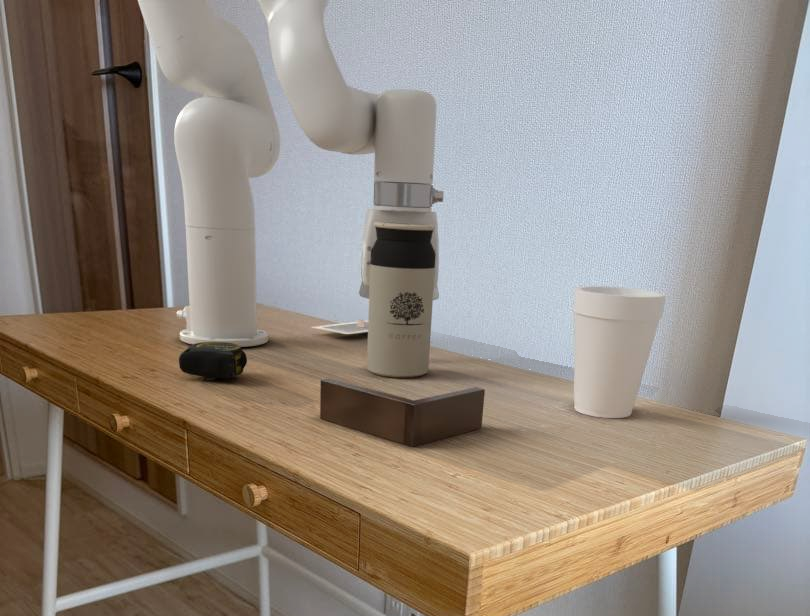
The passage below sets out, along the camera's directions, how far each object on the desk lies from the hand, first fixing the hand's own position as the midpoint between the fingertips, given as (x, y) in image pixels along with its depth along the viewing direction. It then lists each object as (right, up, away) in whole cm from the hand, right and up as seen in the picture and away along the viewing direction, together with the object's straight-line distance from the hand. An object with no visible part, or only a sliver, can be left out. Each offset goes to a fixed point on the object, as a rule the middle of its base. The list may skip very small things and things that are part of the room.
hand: (397, 342), depth 114 cm
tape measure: (-21, -8, -15) cm, 27 cm away
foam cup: (+23, -13, -20) cm, 33 cm away
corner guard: (+1, -15, -30) cm, 34 cm away
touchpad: (-6, +6, +20) cm, 22 cm away
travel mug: (0, -6, -6) cm, 8 cm away
